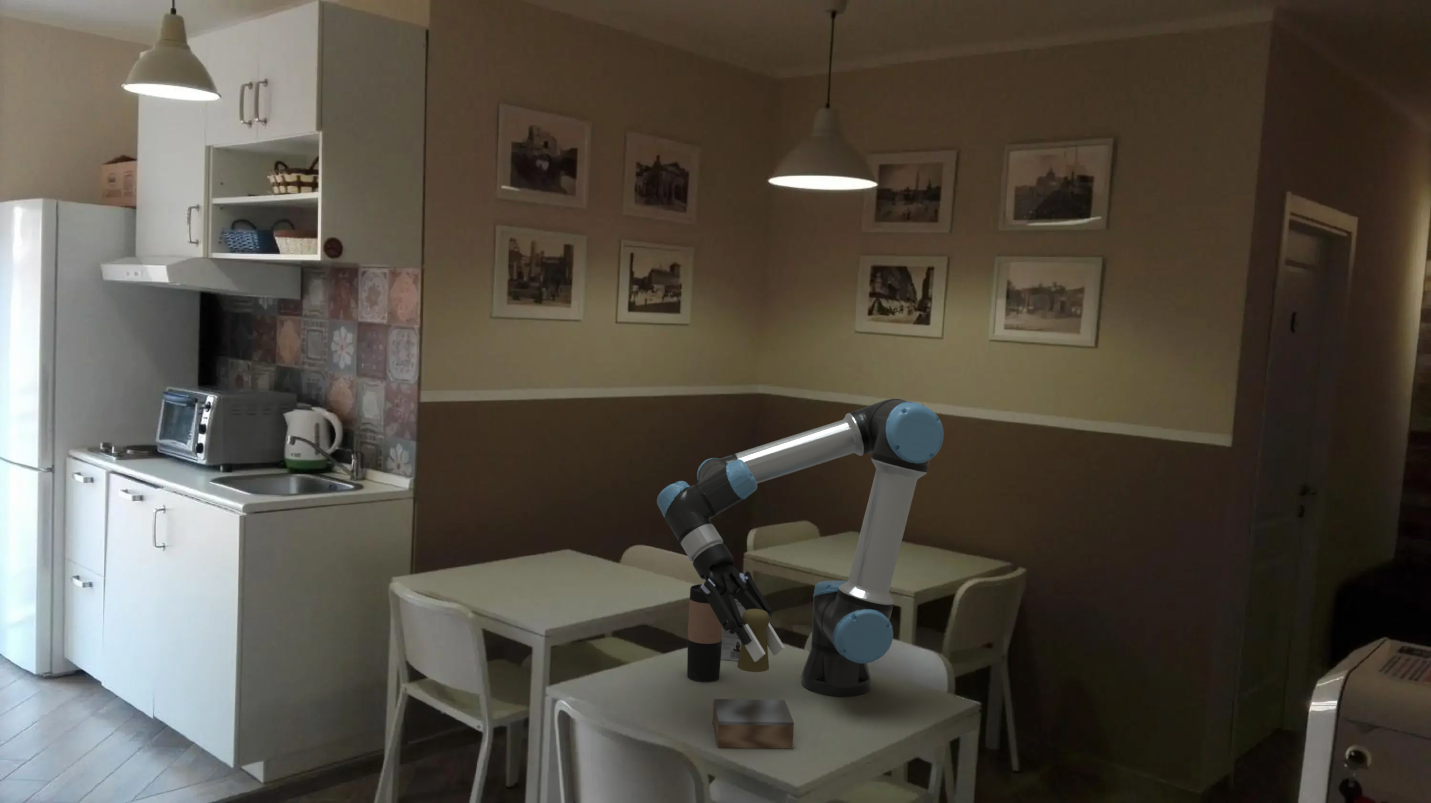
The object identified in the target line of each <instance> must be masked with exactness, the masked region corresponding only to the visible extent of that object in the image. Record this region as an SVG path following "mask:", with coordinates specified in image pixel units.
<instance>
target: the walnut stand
mask: <svg viewBox="0 0 1431 803" xmlns="http://www.w3.org/2000/svg"><path fill="white" fill-rule="evenodd" d="M789 709H790V708H789V706H788V705H787V702H786V699H752V698H749V699H748V698H747V699H746V698H743V699H742V698H735V699H734V698H713V709H712V710H713V712H712V727H713V732H714V737H715V740H716V746H717V749H724V748H725V749H780V748H781V749H784V748H789V750H790V749H793V748H794V747H793V745H794V729H795V728H794V727H795V725H794V724H795V722H794V720H793V717H792V714H791V712H790V710H789Z"/></svg>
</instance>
